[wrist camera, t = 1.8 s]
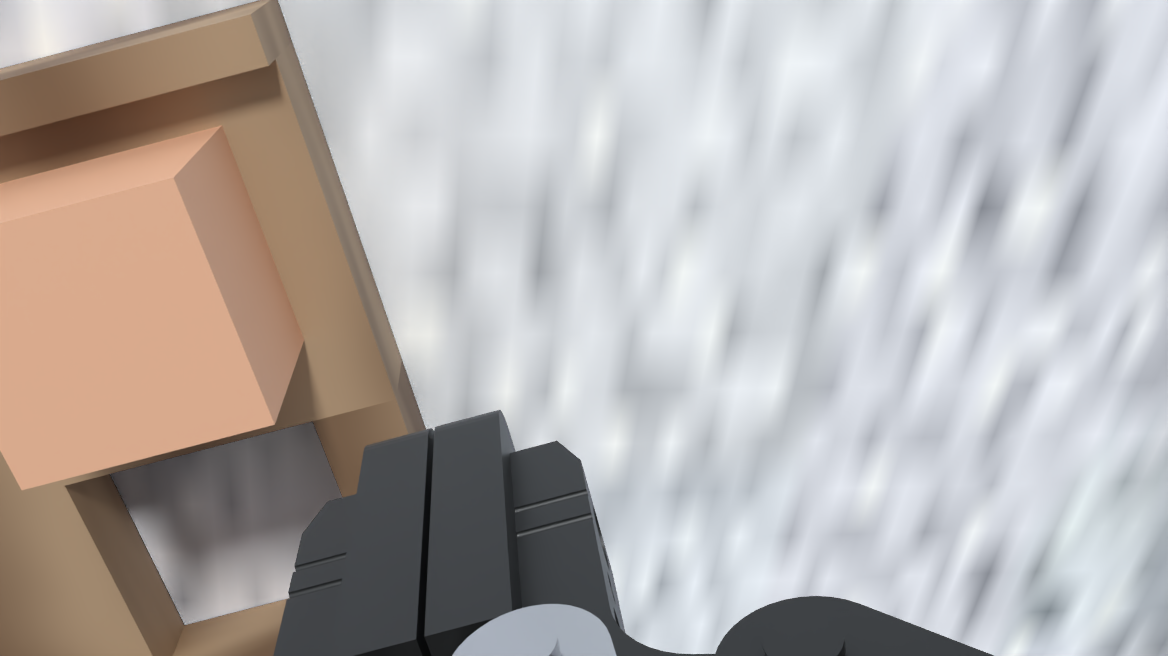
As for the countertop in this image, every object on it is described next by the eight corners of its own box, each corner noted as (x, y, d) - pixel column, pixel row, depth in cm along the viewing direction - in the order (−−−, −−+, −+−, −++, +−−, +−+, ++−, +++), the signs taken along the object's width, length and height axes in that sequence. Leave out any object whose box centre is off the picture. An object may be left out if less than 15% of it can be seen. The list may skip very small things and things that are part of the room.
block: (221, 125, 22) (173, 177, 19) (304, 339, 24) (274, 424, 21) (-13, 187, 22) (-107, 251, 19) (88, 395, 24) (22, 490, 21)
